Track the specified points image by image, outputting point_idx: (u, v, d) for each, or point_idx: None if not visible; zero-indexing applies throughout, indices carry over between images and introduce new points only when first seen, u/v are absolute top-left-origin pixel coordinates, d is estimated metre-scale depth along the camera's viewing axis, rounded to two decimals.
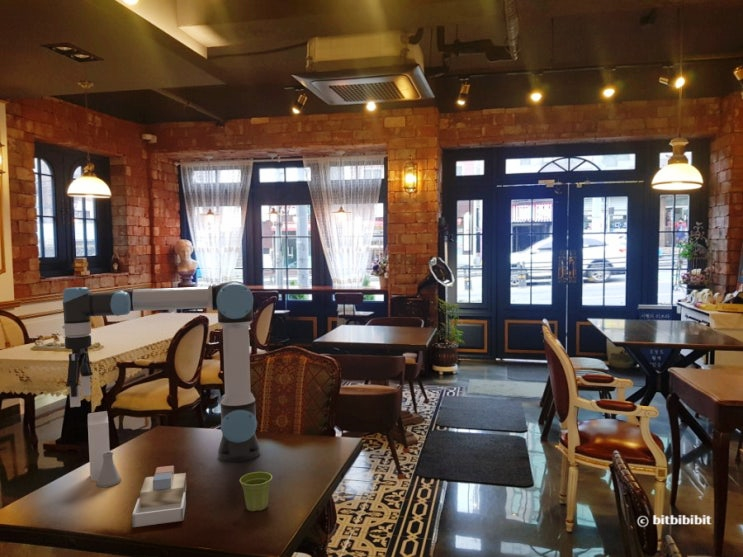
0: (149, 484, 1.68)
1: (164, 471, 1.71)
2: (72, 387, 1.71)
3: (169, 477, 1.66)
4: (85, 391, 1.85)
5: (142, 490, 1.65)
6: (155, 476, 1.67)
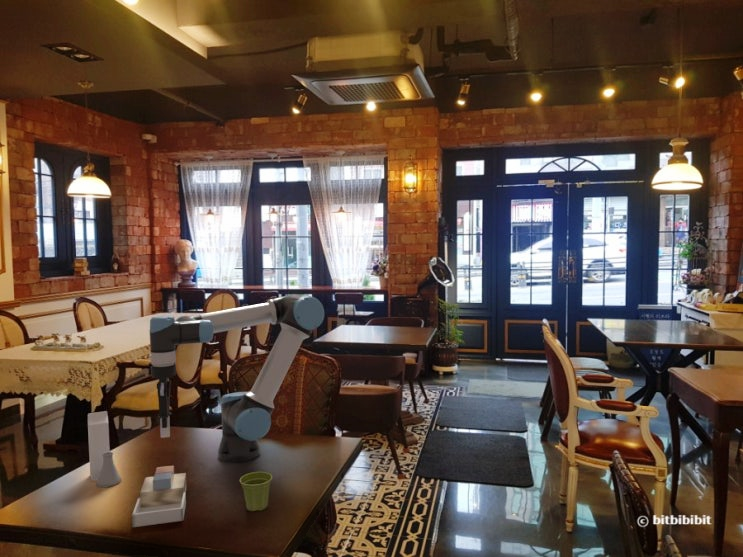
0: (149, 484, 1.68)
1: (164, 471, 1.71)
2: (163, 418, 1.78)
3: (169, 477, 1.66)
4: None
5: (142, 490, 1.65)
6: (155, 476, 1.67)
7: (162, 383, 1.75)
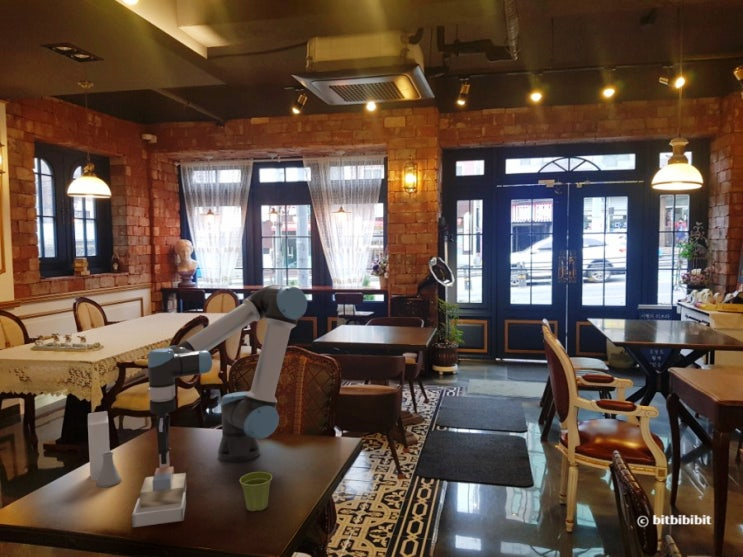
0: (149, 484, 1.68)
1: (164, 472, 1.70)
2: (162, 454, 1.73)
3: (169, 477, 1.66)
4: None
5: (142, 490, 1.65)
6: (155, 476, 1.67)
7: (161, 419, 1.71)
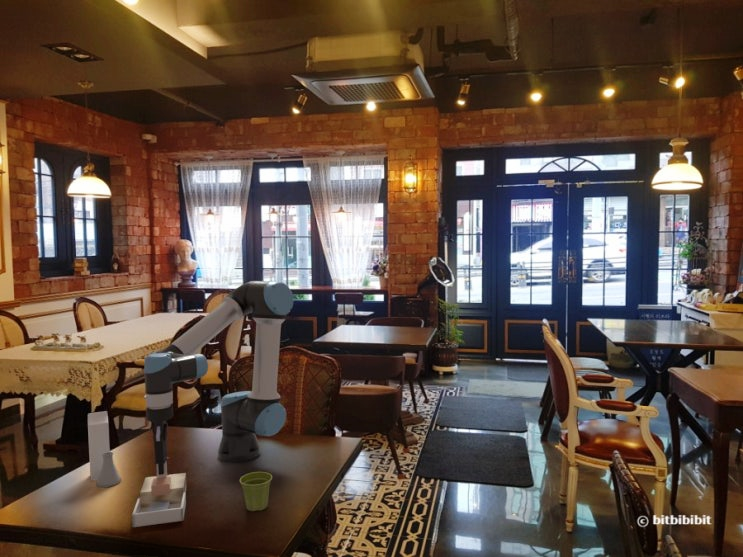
0: (149, 484, 1.68)
1: (161, 483, 1.62)
2: (160, 465, 1.65)
3: None
4: None
5: (142, 490, 1.65)
6: None
7: (158, 427, 1.62)
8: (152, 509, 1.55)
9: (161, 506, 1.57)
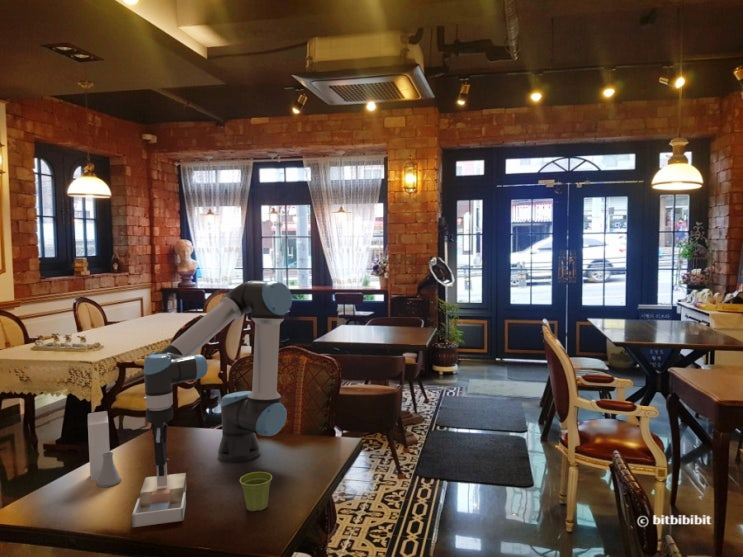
0: (149, 484, 1.68)
1: None
2: (160, 466, 1.64)
3: None
4: None
5: (142, 490, 1.65)
6: None
7: (158, 428, 1.61)
8: (152, 509, 1.55)
9: (161, 507, 1.57)
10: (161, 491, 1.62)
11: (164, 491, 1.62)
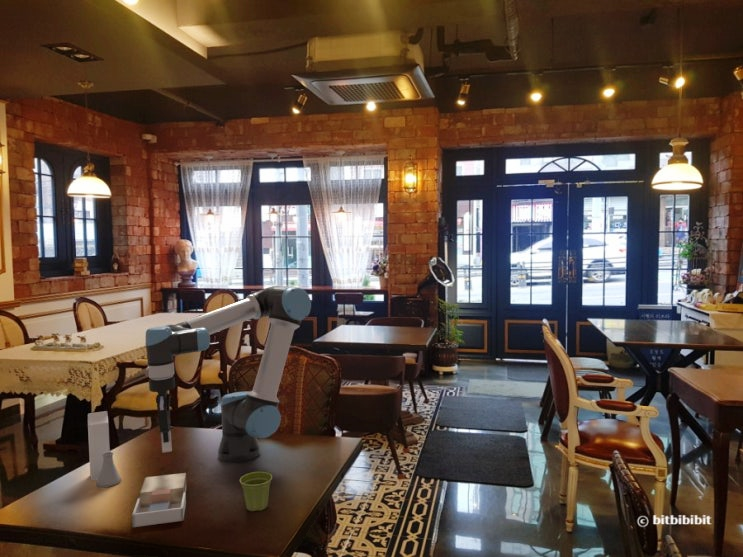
0: (149, 484, 1.68)
1: None
2: (164, 433, 1.71)
3: None
4: None
5: (142, 490, 1.65)
6: None
7: (161, 397, 1.69)
8: (152, 509, 1.55)
9: (161, 507, 1.57)
10: (161, 491, 1.62)
11: (164, 491, 1.62)
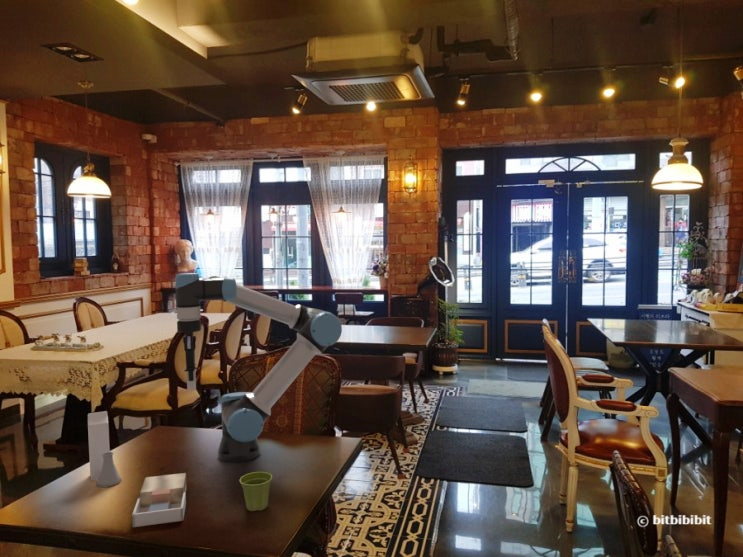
0: (149, 484, 1.68)
1: None
2: (190, 372, 1.84)
3: None
4: None
5: (142, 490, 1.65)
6: None
7: (188, 337, 1.82)
8: (152, 509, 1.55)
9: (161, 507, 1.57)
10: (161, 491, 1.62)
11: (164, 491, 1.62)
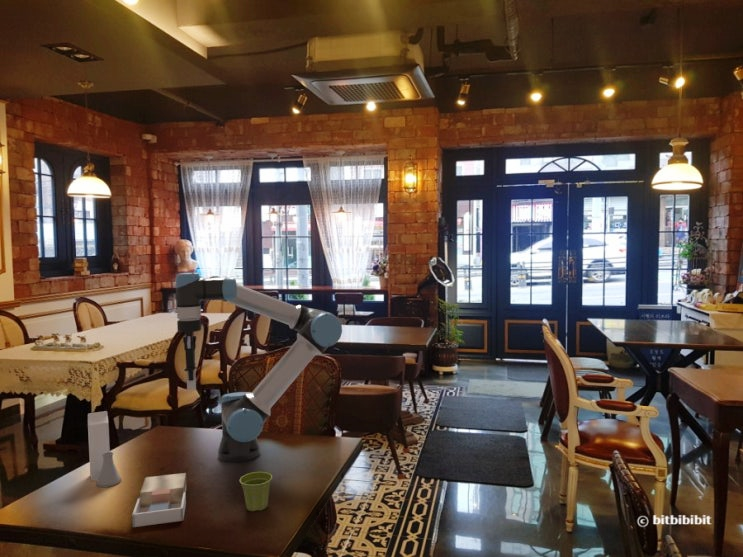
0: (149, 484, 1.68)
1: None
2: (190, 371, 1.84)
3: None
4: None
5: (142, 490, 1.65)
6: None
7: (188, 336, 1.82)
8: (152, 509, 1.55)
9: (161, 507, 1.57)
10: (161, 491, 1.62)
11: (164, 491, 1.62)
